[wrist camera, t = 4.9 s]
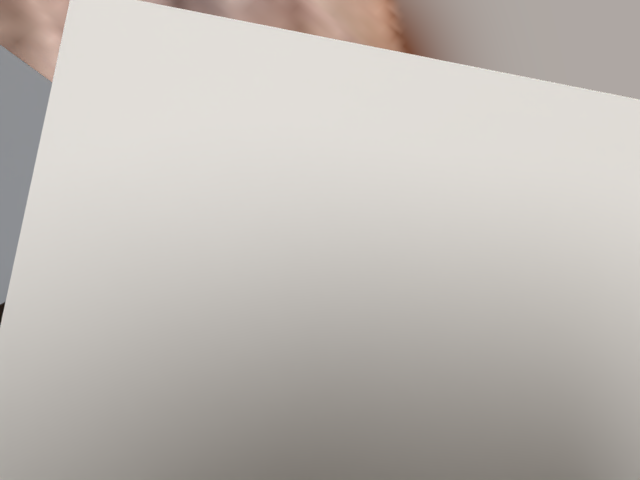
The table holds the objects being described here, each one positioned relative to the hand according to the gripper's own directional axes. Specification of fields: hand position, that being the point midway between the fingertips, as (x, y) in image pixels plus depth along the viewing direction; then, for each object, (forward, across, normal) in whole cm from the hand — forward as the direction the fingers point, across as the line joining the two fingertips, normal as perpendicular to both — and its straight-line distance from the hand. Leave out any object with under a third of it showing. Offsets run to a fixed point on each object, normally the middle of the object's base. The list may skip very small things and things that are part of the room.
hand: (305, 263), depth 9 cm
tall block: (+4, 0, +6) cm, 7 cm away
